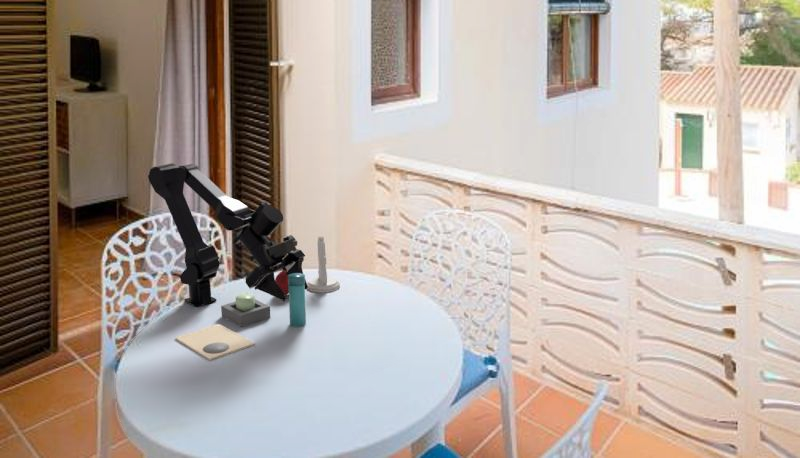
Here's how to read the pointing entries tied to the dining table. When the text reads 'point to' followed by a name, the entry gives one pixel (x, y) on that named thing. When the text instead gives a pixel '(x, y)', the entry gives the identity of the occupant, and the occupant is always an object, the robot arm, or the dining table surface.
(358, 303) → the dining table surface
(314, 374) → the dining table surface
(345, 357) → the dining table surface
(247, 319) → the button housing
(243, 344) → the sheet
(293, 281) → the ball
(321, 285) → the paper towel holder
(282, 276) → the onion
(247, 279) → the robot arm
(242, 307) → the button
